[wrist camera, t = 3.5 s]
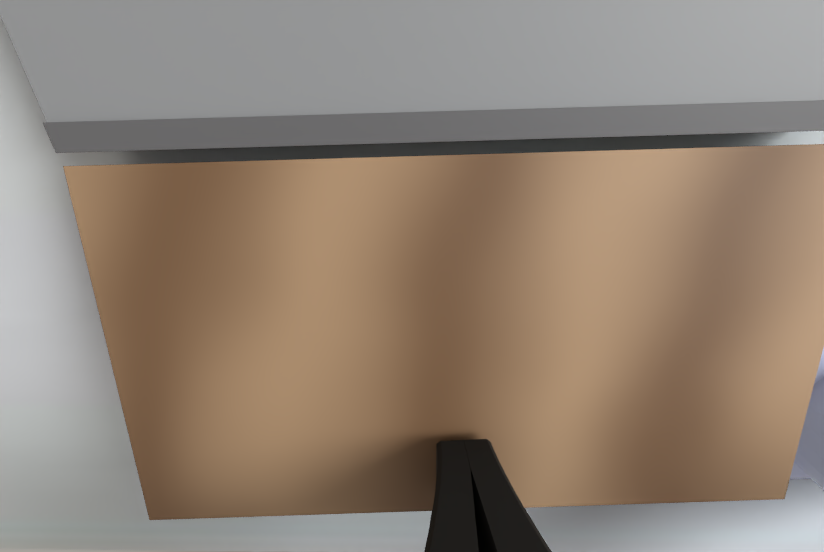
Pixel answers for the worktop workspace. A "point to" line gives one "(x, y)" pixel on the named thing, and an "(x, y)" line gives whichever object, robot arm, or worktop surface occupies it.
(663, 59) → the floor board
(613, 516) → the worktop surface
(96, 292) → the tan flat block
